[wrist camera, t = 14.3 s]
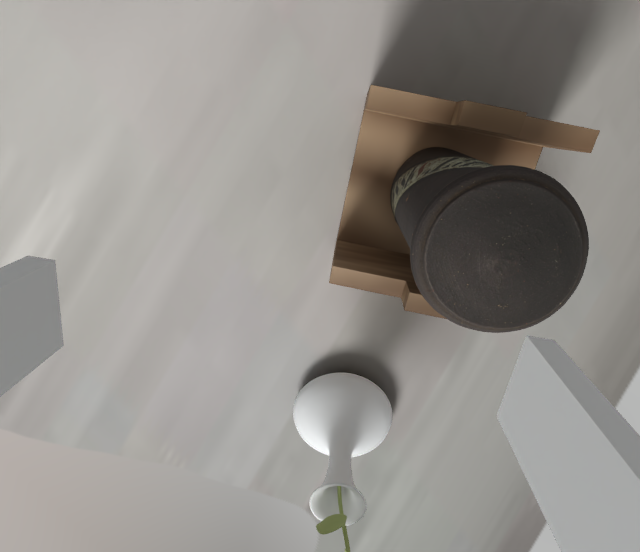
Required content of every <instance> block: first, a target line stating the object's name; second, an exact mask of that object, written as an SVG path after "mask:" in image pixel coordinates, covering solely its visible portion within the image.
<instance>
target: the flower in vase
mask: <svg viewBox="0 0 640 552" xmlns="http://www.w3.org/2000/svg"><path fill="white" fill-rule="evenodd" d="M293 417H294V422H295V425H296V428H297V430H298V432H299V434H300V435H301V437H302V438H303V439H304V441H305V442H306V443H307V444H308V445H310V446H311V447H312V448H314V449H315V450H317V451H319V452H321V453H323V454H326V455H329V464H328V470H327V474H326V477H325V480H324V482H323V484H322V485H321V486H320V487H318V488H317V489H316V490H315V491H314V492H313V494H312V495H311V498H310V503H309V504H310V509H311V511H312V513H313V514H314V515H315V517H316V518H318V519H319V520H320V521H322V522H321V523H319V524H317V526H316V528H317V531H318V532H319V533H320V534H328V533H331V532H333V531H335V530H337V529H339V528H341V527H342V529H343V534H344V540H345V546H346V549H345V552H350V547H349V540H348V535H347V529H346V526H348V525H351V524H354V523H356V522H358V521H359V520H360V519H361V518H362V517H363V516H364V514H365V512H366V508H367V504H366V501H365V498H364V496H363V495H362V493H361V492H360V491H359V490H358V489H357V488H356V487H355V485H354V481H353V477H352V470H351V457H356V456H360V455H363V454H366V453H368V452H370V451H372V450H373V449H375V448H376V447H377V446H378V445H380V443H381V442H382V441H383V440H384V439H385V437H386V435H387V433H388V431H389V429H390V426H391V423H392V408H391V404H390V402H389V400H388V398H387V396H386V395H385V393H384V392H383V391H382V390H381V389H380V387H378V386H377V385H376V384H375V383H373V382H372V381H370V380H368V379H366V378H364V377H362V376H359V375H356V374H351V373H343V372H339V373H330V374H326V375H322V376H320V377H317V378H315V379H313V380H312V381H310V382H309V383H307V384H306V385H305V386H304V387H303V388H302V389H301V391H300V392H299V393H298V395H297V397H296V399H295V402H294V406H293Z"/></svg>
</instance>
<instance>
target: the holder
mask: <svg viewBox="0 0 640 552" xmlns="http://www.w3.org/2000/svg"><path fill="white" fill-rule="evenodd" d="M526 115H527V113H526V112H521V111H516V110H511V109H506V108H501V107H496V106H491V105H486V104H481V103H476V102H471V101H466V100H464V101H459V102H454V101H449V100H444V99H439V98H434V97H429V96H424V95H419V94H414V93H409V92H404V91H399V90H395V89H390V88H385V87H380V86H375V85H371V86H370V89H369V91H368V94H367V98H366V103H365V108H364V113H363V117H362V122H361V127H360V132H359V136H358V141H357V146H356V151H355V155H354V160H353V165H352V170H351V174H350V179H349V184H348V189H347V194H346V198H345V203H344V208H343V213H342V217H341V222H340V227H339V232H338V236H337V241H336V246H335V251H334V257H333V263H332V269H331V275H330V281H329V283H332V284H336V285H341V286H346V287H351V288H356V289H361V290H366V291H370V292H375V293H380V294H385V295H390V296H395V297H400V298H401V299H402V303H403V307H404V310H406V311H411V312H415V313H420V314H425V315H430V316H435V317H440V318H444V319H447V318H445V317H444V316H442V315H441V314H439V313H438V312H437V311H436V310H434V309H433V308H432V307H431V306H430V305H429V303H428V302H427V301H426V300H425V299H424V297H423V296H422V294H421V293H420V291H419V289H418V287H417V285H416V283H415V280H414V277H413V274H412V270H411V262H410V248H409V246H408V244H407V242H406V240H405V238H404V236H403V234H402V232H401V230H400V228H399V226H398V224H397V222H396V221H395V218H394V215H393V212H392V208H391V202H390V193H391V187H392V183H393V180H394V178H395V176H396V174H397V172H398V170H399V168H400V167H401V166H402V165H403V163H404V162H405V161H406V160H407V159H409V158H410V157H411V156H412V155H413V154H415V153H416V152H418V151H420V150H423V149H426V148H430V147H443V148H448V149H452V150H455V151H457V152H460V153H462V154H465V155H467V156H470V157H473V158H475V159H477V160H480V161H483V162H486V163H489V164H491V165H494V166H497V165H515V166H522V167H527V168H531V169H534V170H535V167H536V165H537V162H538V159H539V156H540V154H541V151H542V148H543V147H549V148H556V149H564V150H572V151H579V152H587V153H591V151H592V149H593V147H594V144H595V142H596V139H597V137H598V134H599V132H600V131H599V130H594V129H589V128H584V127H579V126H574V125H569V124H564V123H559V122H554V121H549V120H544V119H539V118H534V117H529V116H526Z"/></svg>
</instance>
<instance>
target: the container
mask: <svg viewBox="0 0 640 552" xmlns="http://www.w3.org/2000/svg"><path fill="white" fill-rule="evenodd" d="M390 202H391V208H392V212H393V215H394V218H395V221H396V222H397V224H398V226H399V228H400V230H401V232H402V234H403V236H404V238H405V240H406V242H407V244H408V246H409V248H410V262H411V270H412V274H413V277H414V280H415V283H416V285H417V287H418V289H419V291H420V293H421V294H422V296H423V297H424V299H425V300H426V301H427V302H428V303H429V305H430V306H431V307H432V308H433V309H434V310H436V311H437V312H438V313H439V314H441V315H442V316H444V317H445V318H447V319H448V320H450V321H452V322H454V323H456V324H458V325H460V326H463V327H466V328H469V329H473V330H477V331H483V332H493V333H499V332H510V331H517V330H521V329H525V328H528V327H531V326H533V325H535V324H538V323H540V322H542V321H543V320H545V319H547V318H548V317H550V316H551V315H553V314H554V313H555V312H556V311H558V310H559V309H560V308H561V307H562V306H563V305H564V304H565V303H566V302H567V301H568V299H569V298H570V297H571V295H572V294H573V293H574V291H575V289H576V288H577V286H578V284H579V282H580V280H581V278H582V276H583V273H584V269H585V266H586V262H587V256H588V249H589V239H588V231H587V226H586V222H585V219H584V216H583V214H582V211H581V209H580V207H579V205H578V204H577V202H576V201H575V199H574V198H573V197H572V195H571V194H570V193H569V192H568V191H567V190H566V189H565V188H564V187H563V186H562V185H561V184H560V183H559V182H557V181H556V180H555V179H553V178H552V177H550V176H548V175H546V174H544V173H542V172H540V171H537V170H534V169H531V168H527V167H522V166H515V165H497V166H494V165H491V164H489V163H486V162H483V161H480V160H477V159H475V158H473V157H470V156H467V155H465V154H462V153H460V152H457V151H455V150H452V149H448V148H443V147H430V148H426V149H423V150H420V151H418V152H416V153H415V154H413V155H412V156H411V157H410V158H409V159H407V160H406V161H405V162H404V163H403V165H402V166H401V167H400V168H399V170H398V172H397V174H396V176H395V178H394V180H393V183H392V187H391V193H390Z"/></svg>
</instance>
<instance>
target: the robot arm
mask: <svg viewBox="0 0 640 552" xmlns="http://www.w3.org/2000/svg"><path fill="white" fill-rule="evenodd" d="M62 346H64V344H63V334H62V324H61V314H60V304H59V294H58V284H57V274H56V264H55V260H51V259H45V258H39V257H33V256H26V257H24V258H22V259H20V260H17V261H15V262H13V263H11V264H8V265H6V266H4V267H2V268H0V397H1V396H2V395H3V394H4V393H6V392H7V391H8V390H9V389H11V388H12V387H13V386H14V385H15V384H17V383H18V382H19V381H20V380H22V379H23V378H24V377H25V376H27V375H28V374H29V373H30V372H31V371H33V370H34V369H35V368H36V367H38V366H39V365H40V364H41V363H43V362H44V361H45V360H46V359H48V358H49V357H50V356H51V355H52V354H54V353H55V352H56V351H57V350H59V349H60V348H61V347H62ZM497 418H498V420H499V422H500V424H501V426H502V429H503V431H504V433H505V435H506V437H507V439H508V441H509V443H510V445H511V447H512V449H513V452H514V454H515V456H516V458H517V460H518V462H519V464H520V466H521V468H522V470H523V473H524V475H525V477H526V479H527V481H528V483H529V485H530V487H531V489H532V491H533V494H534V496H535V498H536V500H537V502H538V504H539V506H540V508H541V510H542V512H543V515H544V517H545V519H546V521H547V523H548V525H549V527H550V529H551V531H552V533H553V535H554V538H555V540H556V542H557V544H558V546H559V548H560V550H561V552H640V436H639V435H638V433H637V432H636V431H635V430H634V429H633V428H632V427H631V425H630V424H629V423H628V422H627V421H626V420H625V419H624V418H623V417H622V415H621V414H620V413H619V412H618V411H617V410H616V409H615V407H614V406H613V405H612V404H611V403H610V402H609V401H608V400H607V398H606V397H605V396H604V395H603V394H602V393H601V392H600V391H599V389H598V388H597V387H596V386H595V385H594V384H593V383H592V382H591V380H590V379H589V378H588V377H587V376H586V375H585V374H584V373H583V371H582V370H581V369H580V368H579V367H578V366H577V365H576V364H575V362H574V361H573V360H572V359H571V358H570V357H569V356H568V355H567V353H566V352H565V351H564V350H563V349H562V348H561V347H560V346H559V345H558V343H557V342H556V341H555V340H552V339H545V338H539V337H533V336H526V338H525V341H524V344H523V346H522V349H521V352H520V354H519V357H518V360H517V362H516V365H515V368H514V370H513V373H512V376H511V378H510V381H509V384H508V386H507V389H506V392H505V394H504V397H503V400H502V402H501V405H500V408H499V410H498V413H497Z"/></svg>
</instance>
